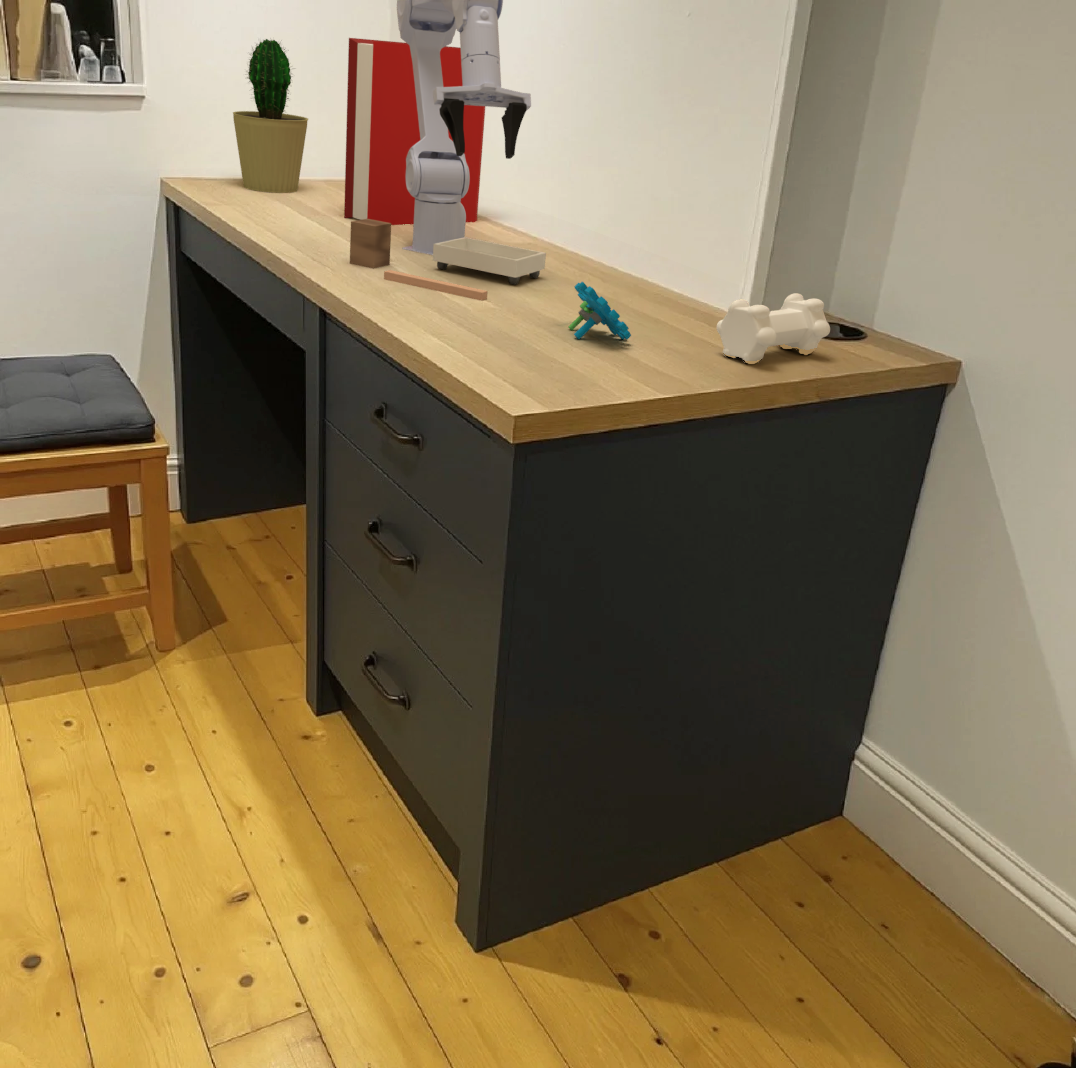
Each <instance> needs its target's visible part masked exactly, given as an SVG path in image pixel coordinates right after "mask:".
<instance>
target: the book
mask: <svg viewBox="0 0 1076 1068" xmlns="http://www.w3.org/2000/svg"><path fill="white" fill-rule="evenodd" d="M347 56H348V57H347V61H348V62H347V64H348V65H347V90H346V92H347V95H346V97H347V98H346V135H345V136H346V137H345V138H346V141H345V173H344V174H345V176H344V213H343V218H344V219H357V220H363V219H372V220H377V221H382V222H387V223H391V226H401V225H402V226H405V224H410V225H414V206H415V198H414V197H413V196H412V195H411V194H410V193H409V192H408V190H407V187H406V157H407V154H408V152H409V150H410V148H411V147H412V146H413V145H415V144H416V143H417V142H419V141H420V131H419V121H418V111H417V102H416V92H415V82H414V73H413V64H412V57H411V51H410V46H409V45H408V44H407V43H406V42H401V41H388V40H381V39H380V40H379V39H378V40H377V39H368V38H367V39H366V38H357V37H348V55H347ZM440 60H441V69H442V78H443V87H458V86H463V84H462V66H461V47H457V46H449V45H447V46H445V47H443V48H442V49H441V51H440ZM485 117H486V106H473V105H464V120H463V127H464V139H465V153H464V154H465V159H466V163H467V165H468V168H469V174H470V182H469V188H468V191H467V193H466V195H465V196H464V197H463V198H461V204H462V205H463V207H464V209H465V212H466V223H476V222H477V221H478V210H479V198H480V196H479V195H480V185H481V183H480V182H481V171H482V158H483V157H482V156H483V144H484V143H483V142H484V129H485ZM448 135H449V138H450V139H451V140H452V137H451V134H450V132H449V130H448ZM452 141H453V140H452ZM403 224H404V225H403Z"/></svg>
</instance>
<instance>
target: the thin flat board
mask: <svg viewBox="0 0 1076 1068" xmlns="http://www.w3.org/2000/svg"><path fill="white" fill-rule="evenodd" d="M383 280H387V281H391V282H396V283H400V284H405V285H410V286H413V287H419V288H422V289H427V290H431V291H435V292H436V291H437V292H441V293H446V294H451V295H456V296H459V297H462V298H463V297H464V298H469V299H473V300H477V301H484V300H487V299H488V293H489V292H488V291H489V290H485V289H479V288H475V287H470V286H466V285H460V284H456V283H451V282H447V281H442V280H438V279H433V278H429V277H424V276H420V275H419V276H418V275H415V274H410V273H405V272H402V271H397V270H391V269H389V270H385V271H384V272H383Z"/></svg>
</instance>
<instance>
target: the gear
mask: <svg viewBox="0 0 1076 1068" xmlns="http://www.w3.org/2000/svg"><path fill="white" fill-rule="evenodd" d="M574 289H575V291H576V292H577V296H578V298H579V299H580V300H581V301H582V302H581V304H580V305H579V307H580V310H579V311H578V315H579V316H578V317H577V318H575V320H573V321H572V323H570V324H569V326H568V327H567V328H568V329H569V330H570V331H574V329H575V328H576V327H578V325H579V324H580V323H582V321H583V320H584V321H585V322H584V324H583V325H582V326H581V327H580V328H578V329H577V330H576V331H575V332H574V333H573V335H574V337H575V338H576V339H578V340H580V339H582V337H584V335H586V334H587V332H589V330H591V328H593V327H594V326H598V325H599V324H602V326H605V325H606V327H607V328H608V329H609V331H610V332H611V334H612V335H614V336H616V335H617V336H618V337H619V338H620V339H621V340H622V339H623V340H622V341H624V340H626V341H627V340H628V339H630V338H631V337H632V334H631V332H630V331H629V326H628V325H627V324H626V323H625V322H624V321H620V320H619V318H621V315H620V314H619V313H618V312H617V311H616V310H615V309H614V308H613V309H612V308H611V306H610V305H609V303H608V300H606V299H605V298H604V297H603V296H602V295H600V296H599V295H598V293H597V291H596V290H595V289H594V288H593V287H592V286H587V285H586V284H585V282H584V281H581V282H577V283H576V284H575V285H574ZM611 309H612V310H611Z"/></svg>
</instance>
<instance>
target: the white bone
mask: <svg viewBox="0 0 1076 1068" xmlns="http://www.w3.org/2000/svg"><path fill="white" fill-rule="evenodd" d="M824 308H825V303H824V302H823V300H821V299H819V298H814V297H813V298H809V299H804V296H803V295H802V294H801V293H797V292H796V293H795V292H794V293H791V294H789V295H787V296H786V298H784V301H783V304H782V306H781V308H780V309H776V310H771V311H770V308H769V307H768V306H766V305H764V304H754V305H750V303H749V302H748V300H746V299H744V298H743V299H741V298H740V299H739V298H738V299H736V300H733V301H732V302H731V303H730V304H729V306H728V308H727V309H728V310H727V312H726V314H725V316H724V317H723V319H720V320H719V321H718V322H717V324H716V331H717V333H718V334H719V337H720V339H721V343H722V346H723V349H722V354H723V353H724V354H726V355H730V356H735V357H739V358H741V359H742V361H743V360H745V361H757V360H761V359H762V360H763V358H764V355H765V352H767V349H768V348H769V347H775V346H778V345H783V344H785V345H788V346H791V347H798V348H800V349H803V350H804V349H805V350H810V349H814V348H817V349H818V344H819V343H820V342H821V340H822V339H823V338H825V337H827V336H828V335H829V334H830V332H831V327H830V326H831V325H830V323H829V322H828V321H827V319H826V316H825V315H826V314H825V313H824ZM724 354H723V355H724ZM762 360H761V361H762Z"/></svg>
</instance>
